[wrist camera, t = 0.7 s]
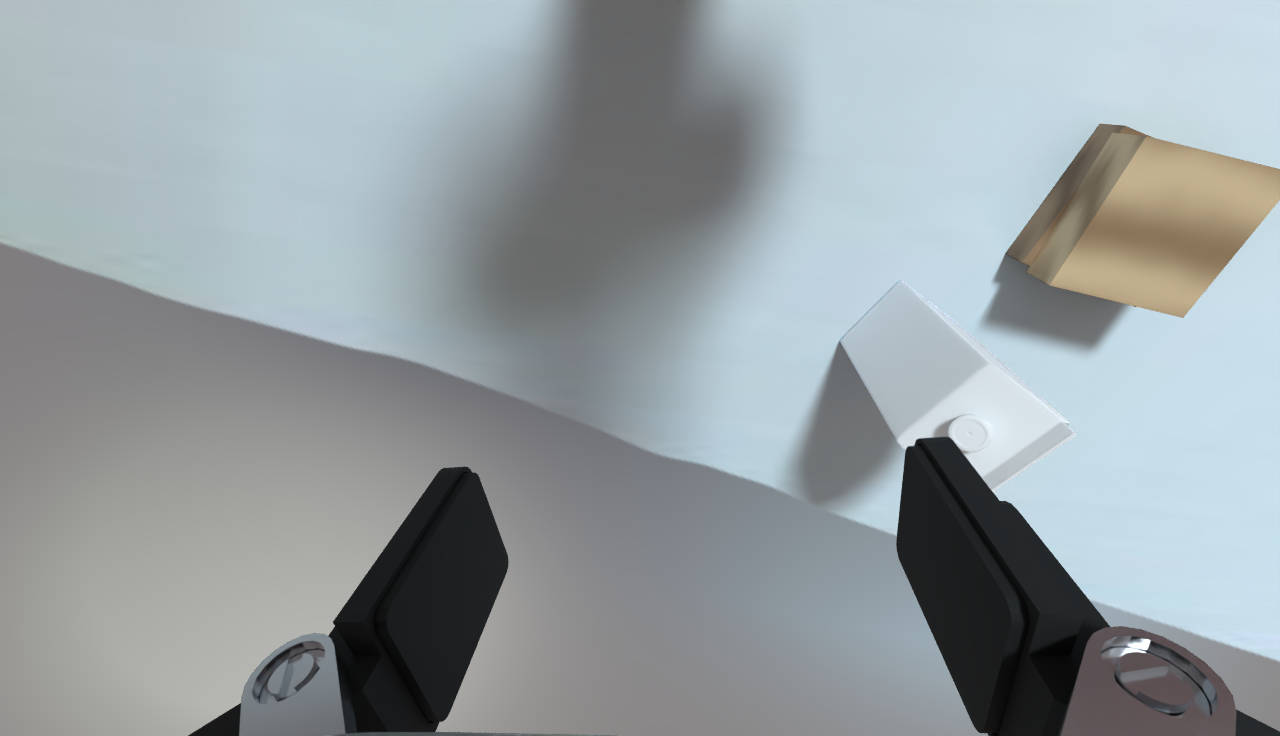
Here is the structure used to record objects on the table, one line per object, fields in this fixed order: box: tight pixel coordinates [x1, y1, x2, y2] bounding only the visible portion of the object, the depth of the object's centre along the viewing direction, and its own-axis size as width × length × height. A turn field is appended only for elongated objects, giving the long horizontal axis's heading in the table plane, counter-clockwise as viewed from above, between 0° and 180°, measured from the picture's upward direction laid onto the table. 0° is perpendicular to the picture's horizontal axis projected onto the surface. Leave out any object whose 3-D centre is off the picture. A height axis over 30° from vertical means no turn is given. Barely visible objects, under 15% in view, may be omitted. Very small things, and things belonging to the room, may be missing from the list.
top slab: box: [1026, 133, 1280, 318], centre depth 35 cm, size 10×10×3 cm
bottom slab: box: [1005, 124, 1153, 307], centre depth 38 cm, size 10×10×3 cm
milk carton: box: [840, 281, 1076, 492], centre depth 37 cm, size 7×7×19 cm
